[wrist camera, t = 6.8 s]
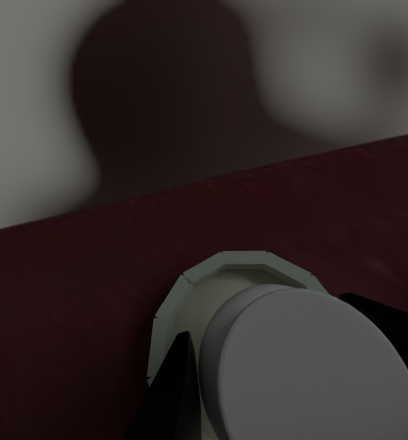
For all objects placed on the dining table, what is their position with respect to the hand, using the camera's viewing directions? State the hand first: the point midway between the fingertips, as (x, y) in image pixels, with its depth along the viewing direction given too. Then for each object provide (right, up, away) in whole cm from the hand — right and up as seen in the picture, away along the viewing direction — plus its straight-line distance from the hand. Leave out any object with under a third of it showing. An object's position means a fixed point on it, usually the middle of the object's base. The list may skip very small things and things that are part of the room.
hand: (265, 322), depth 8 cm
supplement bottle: (+1, -4, +5) cm, 7 cm away
